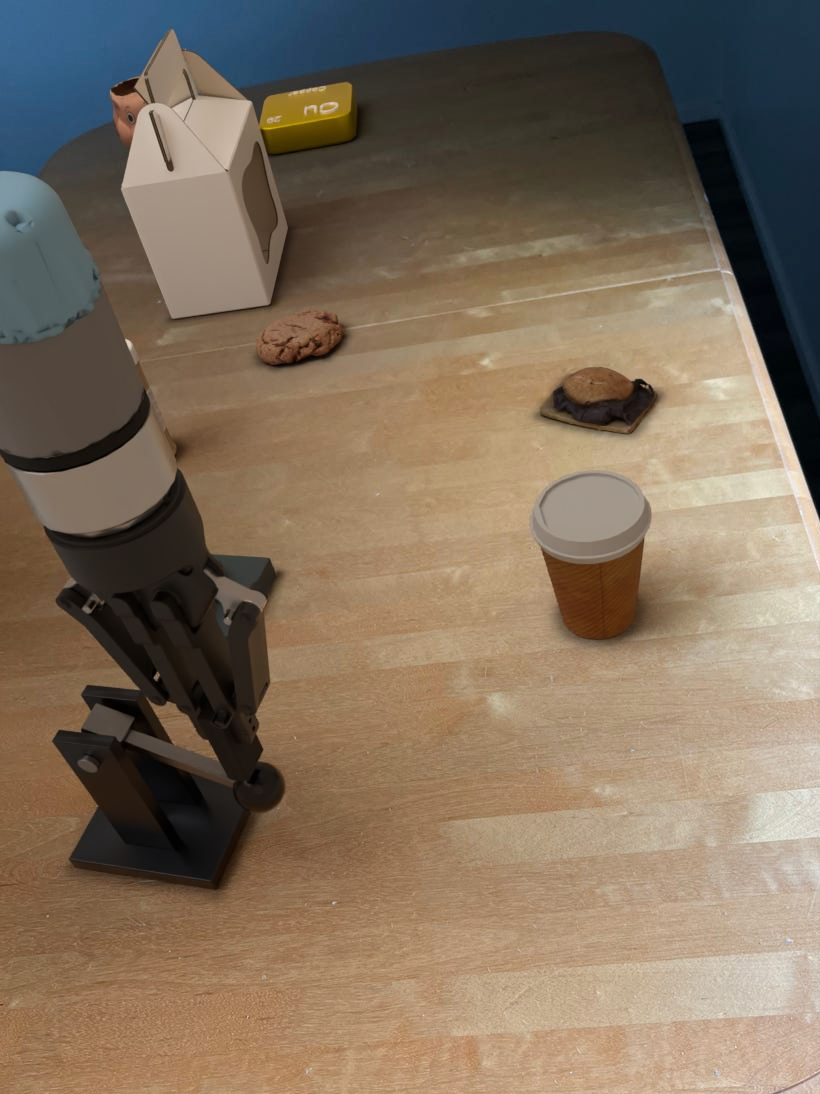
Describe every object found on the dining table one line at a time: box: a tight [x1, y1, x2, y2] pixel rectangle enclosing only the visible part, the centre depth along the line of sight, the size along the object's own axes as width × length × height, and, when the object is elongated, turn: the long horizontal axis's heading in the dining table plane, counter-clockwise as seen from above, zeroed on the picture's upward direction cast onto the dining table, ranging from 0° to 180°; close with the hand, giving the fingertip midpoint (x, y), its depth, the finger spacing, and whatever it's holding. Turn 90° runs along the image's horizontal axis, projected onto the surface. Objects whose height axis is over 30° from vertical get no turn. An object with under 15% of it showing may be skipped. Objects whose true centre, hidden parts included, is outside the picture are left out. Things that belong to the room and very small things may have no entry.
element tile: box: [258, 81, 358, 156], centre depth 173 cm, size 15×15×5 cm
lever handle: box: [80, 703, 287, 814], centre depth 73 cm, size 14×4×4 cm, turn 76°
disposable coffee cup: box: [528, 469, 653, 640], centre depth 86 cm, size 10×10×12 cm
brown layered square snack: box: [538, 366, 658, 435], centre depth 109 cm, size 11×8×4 cm
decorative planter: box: [109, 75, 147, 151], centre depth 167 cm, size 20×12×14 cm, turn 12°
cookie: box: [256, 308, 344, 366], centre depth 127 cm, size 10×11×3 cm
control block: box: [211, 553, 277, 645], centre depth 97 cm, size 12×10×4 cm
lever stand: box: [51, 684, 252, 890], centre depth 76 cm, size 12×9×14 cm
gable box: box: [120, 28, 289, 320], centre depth 134 cm, size 22×13×28 cm, turn 1°
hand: (246, 763), depth 71 cm, fingers closed
